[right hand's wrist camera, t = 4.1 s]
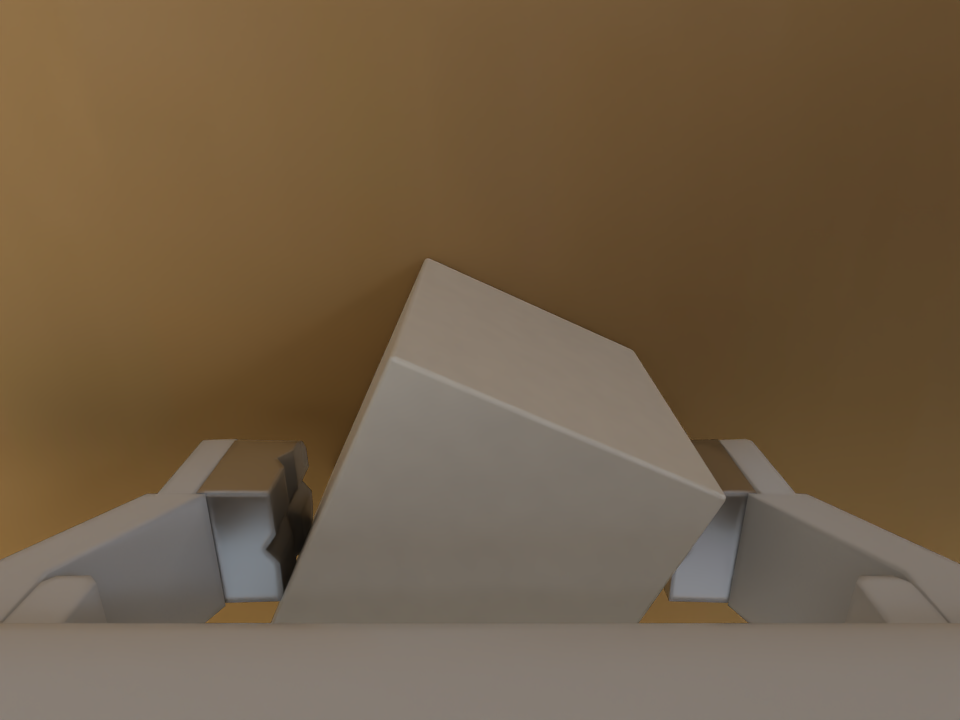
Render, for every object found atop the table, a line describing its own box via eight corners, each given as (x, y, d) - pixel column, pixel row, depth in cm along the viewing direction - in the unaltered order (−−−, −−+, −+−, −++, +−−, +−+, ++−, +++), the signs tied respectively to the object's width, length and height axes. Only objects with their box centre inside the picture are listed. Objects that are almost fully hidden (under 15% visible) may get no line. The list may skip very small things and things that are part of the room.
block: (331, 473, 13) (251, 670, 8) (426, 256, 11) (390, 355, 7) (520, 545, 13) (540, 765, 9) (635, 350, 12) (729, 498, 7)
